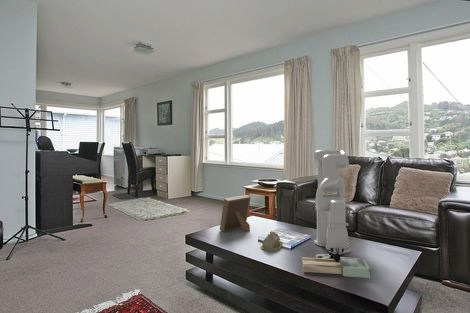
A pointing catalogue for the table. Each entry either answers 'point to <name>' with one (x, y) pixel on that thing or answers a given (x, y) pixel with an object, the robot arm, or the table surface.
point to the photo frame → (235, 213)
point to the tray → (356, 269)
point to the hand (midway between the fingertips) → (336, 261)
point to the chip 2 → (353, 263)
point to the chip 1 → (344, 262)
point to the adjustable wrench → (327, 256)
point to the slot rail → (321, 265)
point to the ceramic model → (272, 242)
